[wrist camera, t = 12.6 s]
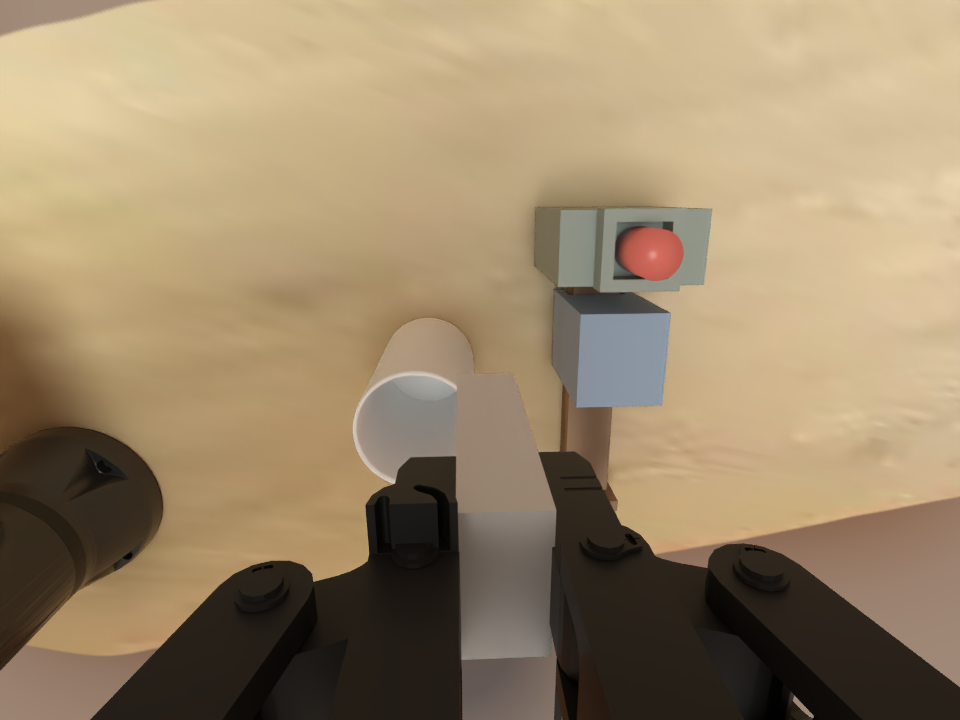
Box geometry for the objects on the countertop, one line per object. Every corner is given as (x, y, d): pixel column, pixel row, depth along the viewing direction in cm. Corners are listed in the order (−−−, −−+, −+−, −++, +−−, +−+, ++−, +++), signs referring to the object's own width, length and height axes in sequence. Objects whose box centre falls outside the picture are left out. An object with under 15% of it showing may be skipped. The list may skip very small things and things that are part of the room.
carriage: (551, 364, 50) (576, 407, 39) (554, 289, 48) (580, 314, 37) (619, 362, 50) (661, 405, 40) (625, 288, 48) (670, 313, 38)
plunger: (612, 272, 35) (631, 281, 32) (615, 226, 35) (634, 229, 31) (656, 271, 36) (681, 280, 32) (661, 225, 35) (686, 228, 31)
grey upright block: (534, 266, 48) (563, 292, 34) (535, 206, 46) (566, 209, 33) (653, 265, 48) (727, 290, 35) (658, 205, 46) (738, 207, 33)
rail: (554, 484, 54) (563, 512, 49) (561, 276, 48) (572, 285, 43) (602, 483, 54) (616, 510, 49) (616, 275, 48) (634, 284, 43)
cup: (487, 338, 49) (500, 401, 34) (452, 414, 51) (449, 505, 36) (404, 303, 48) (379, 351, 33) (371, 382, 50) (333, 462, 35)
